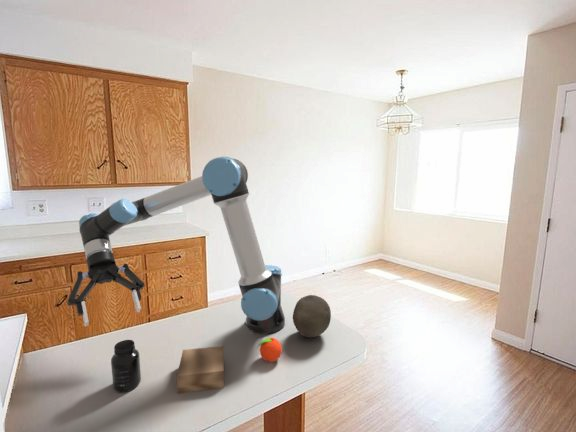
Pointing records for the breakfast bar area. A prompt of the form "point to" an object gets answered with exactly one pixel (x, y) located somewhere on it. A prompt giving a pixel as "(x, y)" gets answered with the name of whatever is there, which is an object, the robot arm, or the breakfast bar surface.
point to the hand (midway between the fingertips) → (114, 317)
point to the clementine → (270, 349)
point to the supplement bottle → (125, 366)
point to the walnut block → (201, 369)
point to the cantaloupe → (311, 316)
